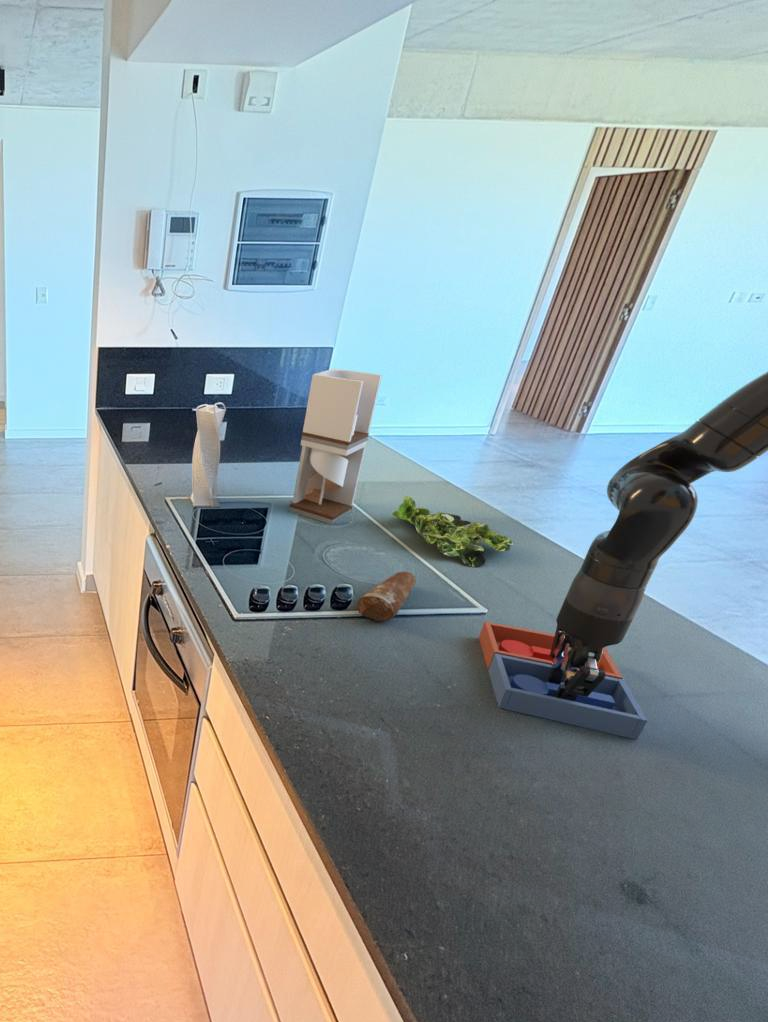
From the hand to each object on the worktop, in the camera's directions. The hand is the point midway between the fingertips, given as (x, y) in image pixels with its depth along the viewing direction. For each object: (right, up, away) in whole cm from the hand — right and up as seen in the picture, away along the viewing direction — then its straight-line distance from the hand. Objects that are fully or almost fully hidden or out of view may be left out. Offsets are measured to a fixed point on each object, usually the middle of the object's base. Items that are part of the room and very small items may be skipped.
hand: (556, 698), depth 94 cm
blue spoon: (+1, 0, 0) cm, 1 cm away
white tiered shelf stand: (-7, +31, +65) cm, 73 cm away
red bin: (+4, +3, +8) cm, 10 cm away
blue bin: (0, -1, 0) cm, 1 cm away
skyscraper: (-36, +34, +71) cm, 87 cm away
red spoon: (+5, +4, +8) cm, 10 cm away
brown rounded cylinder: (-12, +12, +26) cm, 31 cm away
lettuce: (+16, +24, +50) cm, 58 cm away
